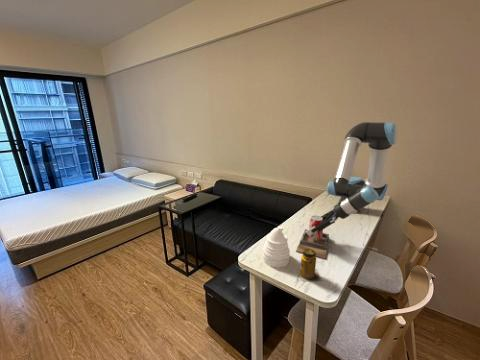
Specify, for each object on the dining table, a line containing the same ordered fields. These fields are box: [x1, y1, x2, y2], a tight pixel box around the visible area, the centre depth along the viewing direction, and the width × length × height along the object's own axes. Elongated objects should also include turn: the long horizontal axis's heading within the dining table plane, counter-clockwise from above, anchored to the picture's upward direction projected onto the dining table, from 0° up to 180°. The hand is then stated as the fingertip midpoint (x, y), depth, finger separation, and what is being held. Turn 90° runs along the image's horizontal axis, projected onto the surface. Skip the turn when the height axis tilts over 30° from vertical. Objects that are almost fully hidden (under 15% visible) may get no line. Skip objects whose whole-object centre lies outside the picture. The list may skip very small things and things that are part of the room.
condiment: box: [297, 249, 323, 282], centre depth 96 cm, size 7×8×12 cm
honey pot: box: [262, 225, 291, 269], centre depth 106 cm, size 13×13×18 cm
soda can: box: [308, 215, 324, 240], centre depth 119 cm, size 7×7×12 cm
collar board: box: [295, 229, 331, 260], centre depth 119 cm, size 20×14×4 cm
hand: (309, 230), depth 121 cm, fingers closed on soda can, 7 cm apart
